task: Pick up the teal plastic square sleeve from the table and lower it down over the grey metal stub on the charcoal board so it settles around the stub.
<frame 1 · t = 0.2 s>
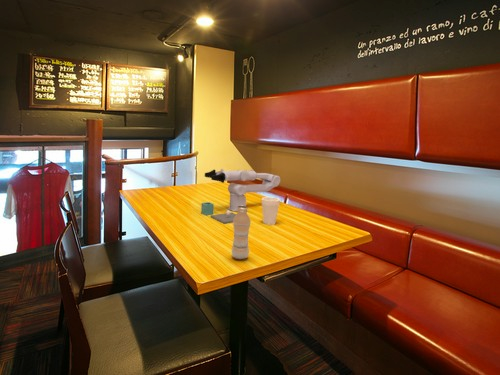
hand: (208, 176, 178), 21 cm above the table, tool horizontal, fingers open, 7 cm apart
foam cup: (269, 223, 169), on the table
stub board: (228, 218, 173), on the table
sleeve: (207, 213, 181), on the table
plastic bottle: (240, 258, 121), on the table
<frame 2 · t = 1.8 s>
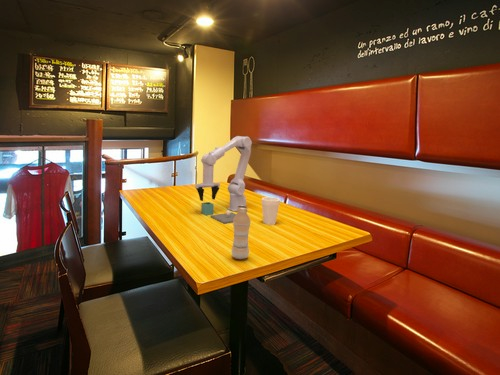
hand: (207, 199, 179), 8 cm above the table, tool pointing down, fingers open, 7 cm apart
nothing on the table moved.
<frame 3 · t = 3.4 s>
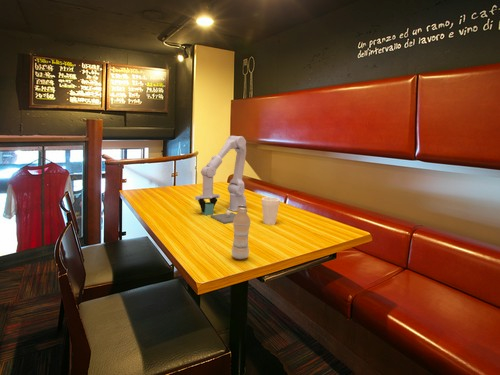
hand: (207, 211, 181), 1 cm above the table, tool pointing down, fingers closed on sleeve, 5 cm apart
sleeve: (207, 213, 181), on the table, touching gripper
everything else where it was.
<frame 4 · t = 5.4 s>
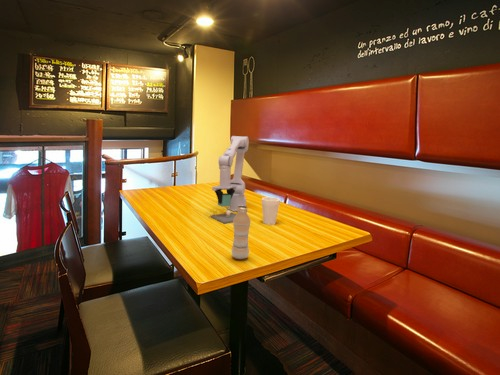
hand: (224, 202, 173), 8 cm above the table, tool pointing down, fingers closed on sleeve, 5 cm apart
sleeve: (224, 205, 173), point 7 cm above the table, touching gripper
everything else where it was.
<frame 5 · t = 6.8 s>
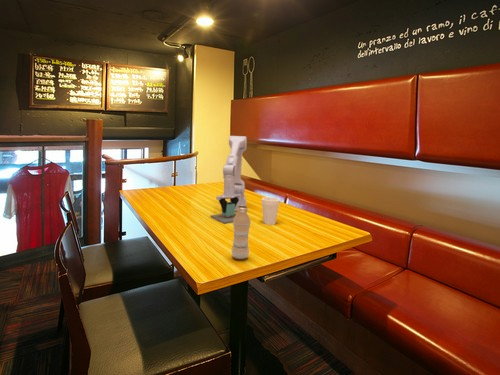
hand: (228, 211, 172), 4 cm above the table, tool pointing down, fingers closed on sleeve, 5 cm apart
sleeve: (228, 214, 173), point 2 cm above the table, touching gripper
everything else where it was.
when the fingers open (4 cm above the table, at t = 7.9 s): sleeve drops 1 cm, resting on stub board.
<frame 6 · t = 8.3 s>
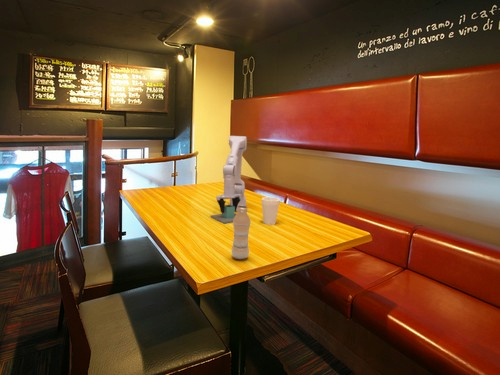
hand: (228, 211, 172), 4 cm above the table, tool pointing down, fingers open, 7 cm apart
sleeve: (228, 216, 173), point 1 cm above the table, touching stub board
everything else where it was.
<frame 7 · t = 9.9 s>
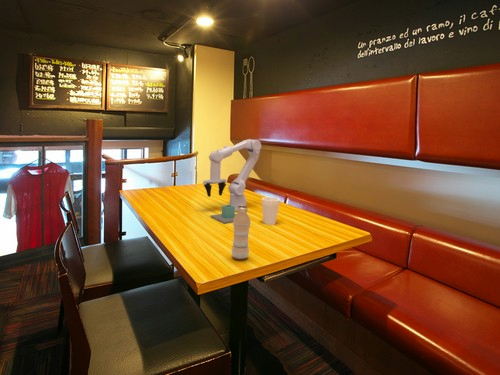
hand: (214, 195, 185), 9 cm above the table, tool pointing down, fingers open, 7 cm apart
nothing on the table moved.
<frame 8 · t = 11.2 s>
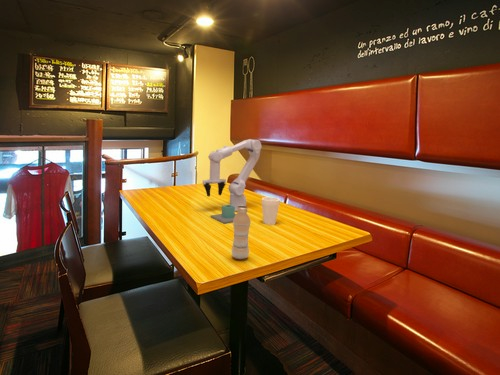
hand: (214, 195, 185), 9 cm above the table, tool pointing down, fingers open, 7 cm apart
nothing on the table moved.
at the end: sleeve 0.1 cm from the stub board (horizontally); sleeve point 1.0 cm above the table; the gripper is holding nothing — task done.
